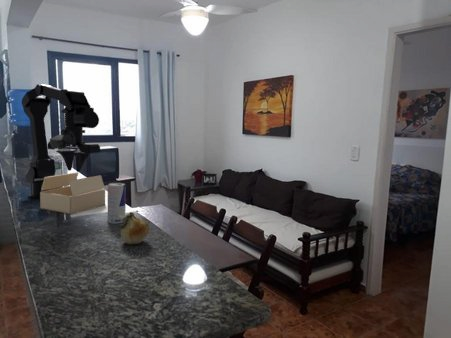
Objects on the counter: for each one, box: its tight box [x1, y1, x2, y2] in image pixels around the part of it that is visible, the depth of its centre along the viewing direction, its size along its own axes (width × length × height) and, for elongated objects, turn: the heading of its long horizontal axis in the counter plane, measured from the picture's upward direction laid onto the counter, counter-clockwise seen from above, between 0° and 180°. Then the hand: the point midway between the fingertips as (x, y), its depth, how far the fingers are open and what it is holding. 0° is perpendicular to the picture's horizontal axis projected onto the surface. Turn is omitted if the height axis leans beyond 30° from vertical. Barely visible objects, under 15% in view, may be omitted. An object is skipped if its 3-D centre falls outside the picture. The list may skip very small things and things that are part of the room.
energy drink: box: [107, 182, 127, 225], centre depth 104 cm, size 5×5×12 cm
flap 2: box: [69, 174, 105, 195], centre depth 117 cm, size 5×15×1 cm
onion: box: [118, 211, 151, 245], centre depth 87 cm, size 8×8×8 cm
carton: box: [39, 185, 106, 215], centre depth 119 cm, size 14×17×6 cm
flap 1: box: [41, 171, 79, 190], centre depth 121 cm, size 5×15×1 cm
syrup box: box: [48, 153, 64, 176], centre depth 155 cm, size 6×6×14 cm
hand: (73, 171), depth 118 cm, fingers open, 4 cm apart
